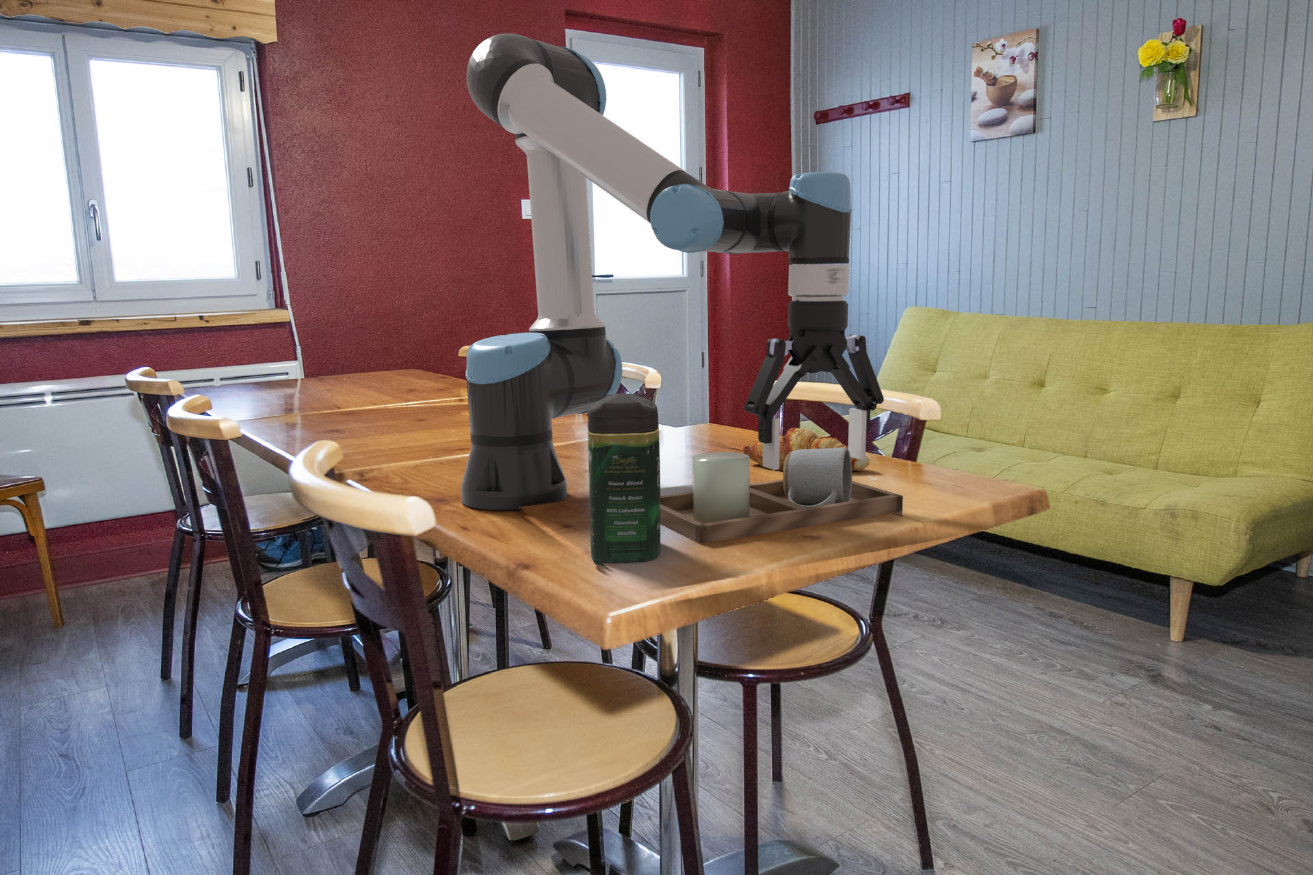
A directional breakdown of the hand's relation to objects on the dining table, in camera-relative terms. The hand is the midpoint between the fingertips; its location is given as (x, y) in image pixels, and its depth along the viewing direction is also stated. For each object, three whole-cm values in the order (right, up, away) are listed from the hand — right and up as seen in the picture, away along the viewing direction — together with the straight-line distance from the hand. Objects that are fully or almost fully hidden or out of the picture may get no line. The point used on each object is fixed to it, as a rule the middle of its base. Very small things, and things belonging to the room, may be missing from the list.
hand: (814, 462), depth 122 cm
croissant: (+3, -2, +30) cm, 30 cm away
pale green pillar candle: (-13, -7, -5) cm, 15 cm away
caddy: (-6, -7, -2) cm, 10 cm away
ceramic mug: (0, -6, 0) cm, 6 cm away
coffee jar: (-24, -10, -17) cm, 31 cm away
